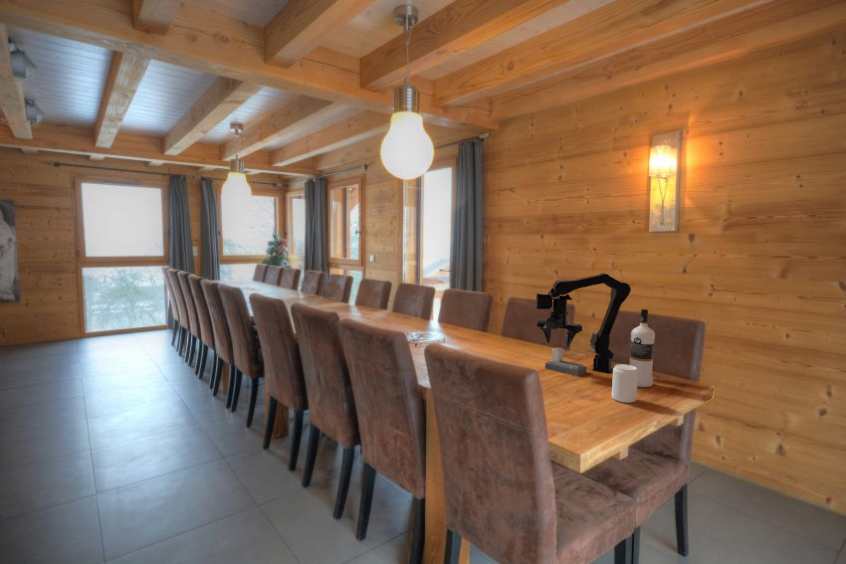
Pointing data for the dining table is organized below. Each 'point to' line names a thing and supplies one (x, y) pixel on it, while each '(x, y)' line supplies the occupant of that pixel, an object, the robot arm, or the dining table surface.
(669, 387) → the dining table surface
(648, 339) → the vodka
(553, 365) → the fader console
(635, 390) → the white cylinder
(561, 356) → the fader tab
